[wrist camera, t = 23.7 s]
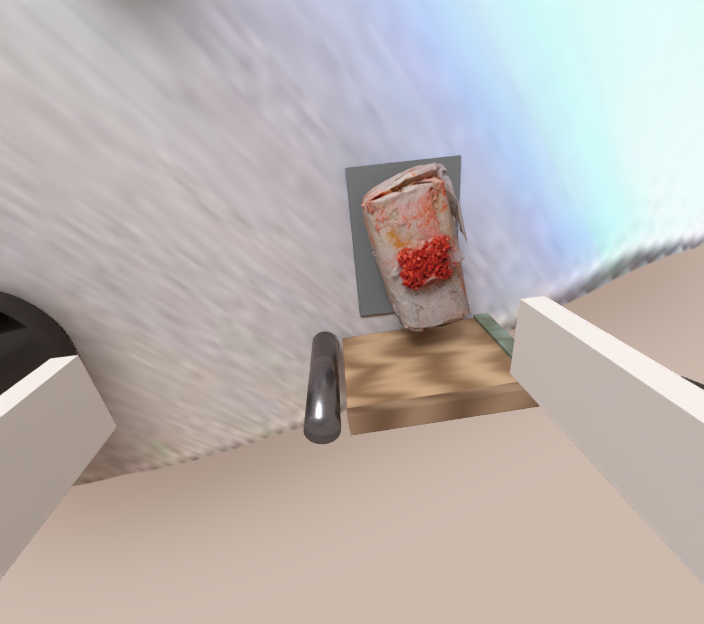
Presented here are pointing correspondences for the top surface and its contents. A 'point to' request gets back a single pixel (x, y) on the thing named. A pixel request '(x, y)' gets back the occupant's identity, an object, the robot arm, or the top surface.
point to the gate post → (323, 391)
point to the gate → (430, 375)
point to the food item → (418, 246)
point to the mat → (366, 267)
